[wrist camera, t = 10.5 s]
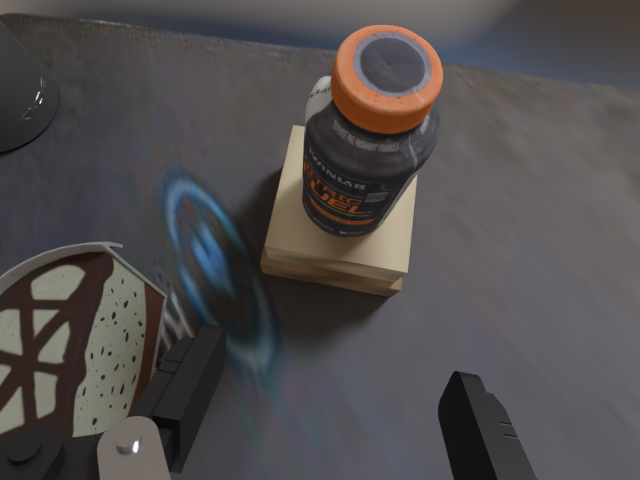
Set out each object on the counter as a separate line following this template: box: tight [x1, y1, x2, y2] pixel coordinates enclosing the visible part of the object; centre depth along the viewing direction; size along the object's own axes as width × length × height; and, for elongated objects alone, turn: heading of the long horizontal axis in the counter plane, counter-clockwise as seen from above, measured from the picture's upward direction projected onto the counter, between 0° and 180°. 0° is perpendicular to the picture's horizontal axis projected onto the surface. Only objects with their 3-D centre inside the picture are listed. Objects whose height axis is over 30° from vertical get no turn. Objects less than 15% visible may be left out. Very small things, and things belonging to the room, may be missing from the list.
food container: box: [0, 242, 168, 445], centre depth 20 cm, size 12×6×10 cm, turn 178°
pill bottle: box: [301, 25, 443, 238], centre depth 18 cm, size 6×6×11 cm
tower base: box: [260, 125, 417, 297], centre depth 26 cm, size 10×10×6 cm
